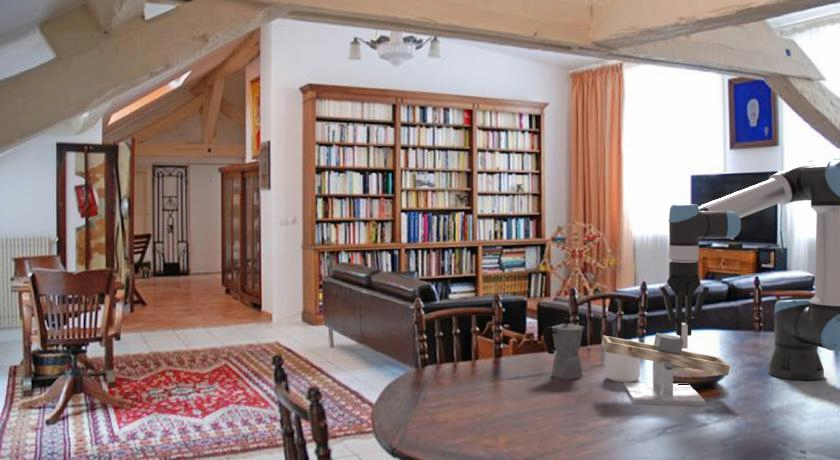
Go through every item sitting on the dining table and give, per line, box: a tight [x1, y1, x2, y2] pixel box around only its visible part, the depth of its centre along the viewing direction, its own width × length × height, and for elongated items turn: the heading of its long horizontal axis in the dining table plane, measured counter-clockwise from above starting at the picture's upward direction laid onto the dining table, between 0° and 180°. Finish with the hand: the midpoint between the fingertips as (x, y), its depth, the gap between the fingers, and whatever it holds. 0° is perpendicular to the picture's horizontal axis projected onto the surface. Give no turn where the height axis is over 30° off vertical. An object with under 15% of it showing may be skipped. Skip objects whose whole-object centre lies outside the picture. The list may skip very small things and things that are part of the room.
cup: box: [604, 350, 641, 383], centre depth 215 cm, size 10×10×10 cm
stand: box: [623, 360, 707, 407], centre depth 196 cm, size 18×18×11 cm
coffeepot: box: [542, 317, 586, 380], centre depth 219 cm, size 15×9×18 cm, turn 116°
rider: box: [653, 332, 683, 355], centre depth 195 cm, size 6×6×5 cm
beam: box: [601, 334, 731, 376], centre depth 196 cm, size 32×11×4 cm, turn 83°
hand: (683, 347), depth 195 cm, fingers closed
